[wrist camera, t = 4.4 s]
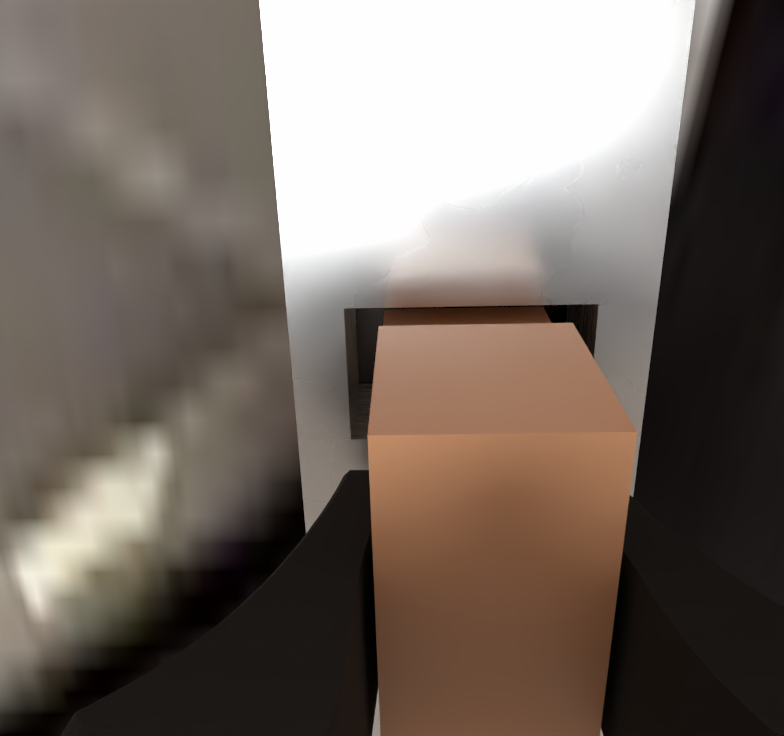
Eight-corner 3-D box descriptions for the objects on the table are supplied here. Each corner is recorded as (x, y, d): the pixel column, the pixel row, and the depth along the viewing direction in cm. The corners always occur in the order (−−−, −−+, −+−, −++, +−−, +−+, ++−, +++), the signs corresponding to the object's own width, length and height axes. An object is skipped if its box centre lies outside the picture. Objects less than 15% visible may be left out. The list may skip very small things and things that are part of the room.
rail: (674, -282, 11) (741, -363, 9) (566, 783, 21) (586, 873, 19) (264, -265, 12) (229, -340, 9) (343, 782, 21) (335, 871, 19)
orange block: (544, 275, 14) (637, 431, 8) (528, 556, 16) (589, 818, 11) (383, 279, 14) (367, 434, 8) (392, 557, 16) (384, 817, 11)
